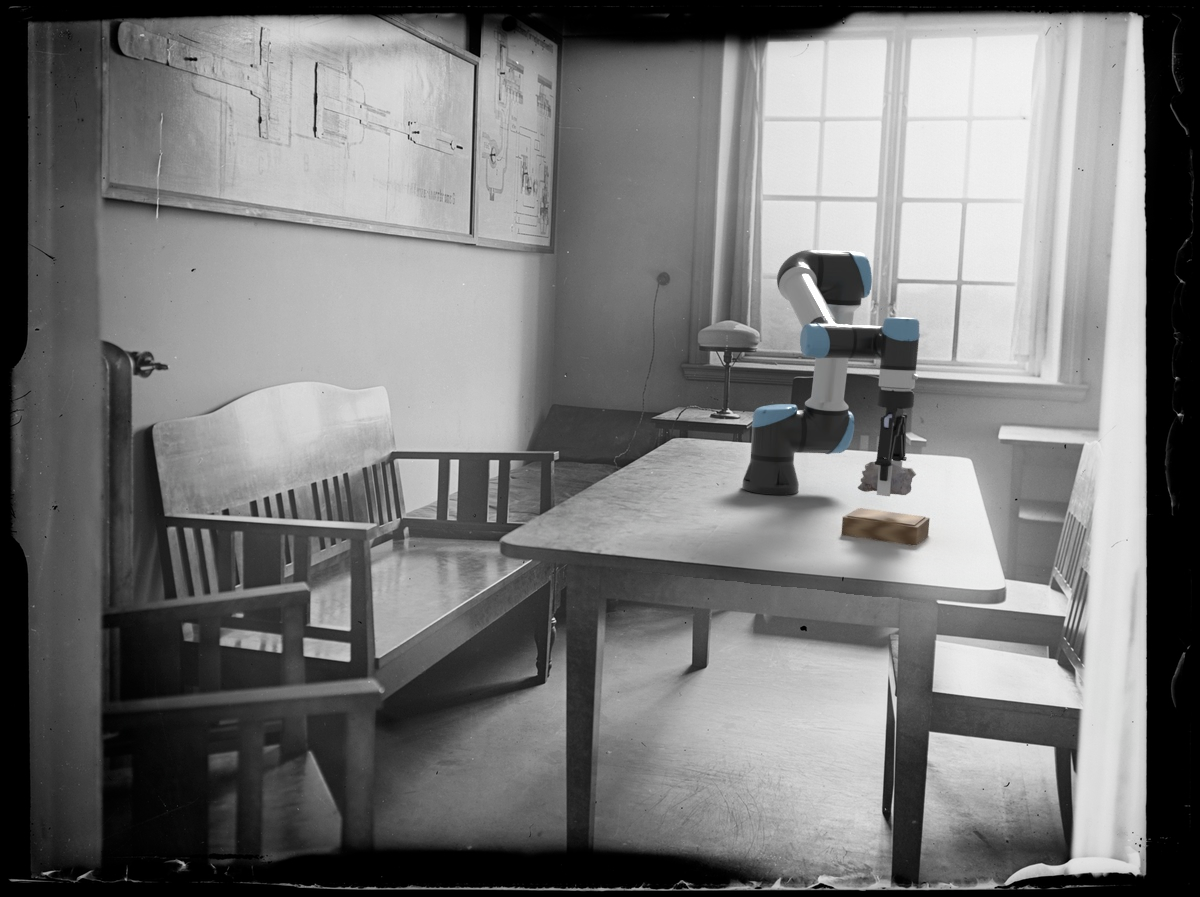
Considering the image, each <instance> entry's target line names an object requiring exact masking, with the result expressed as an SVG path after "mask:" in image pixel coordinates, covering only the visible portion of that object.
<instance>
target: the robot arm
mask: <svg viewBox="0 0 1200 897" xmlns="http://www.w3.org/2000/svg"><path fill="white" fill-rule="evenodd" d="M781 264H782V265H781V266H780V268H779V270H778V272H777V277H776V284H777V289H778V290H779V293H780V295H781V296H782V297H783V298H784V300H786V301H787V302H788V301H789V303H790V306H791V307H792V309H793V311H794V313H795V316H796V317H797V319H798V322H799V323H800V325H801V332H800V337H799V338H800V339H799V344H800V345H799V346H800V352H801V354H803V356H804V357H807V358H815V359H814V369H813V379H812V385H811V386H812V387H811V388H812V389H811V394H810V395H811V396H810V398H808V399H807V400H806V401H805V402H804V409H798V405H796V404H794V403H793V404H792V403H785V404H784V403H780V404H779V403H778V404H769V405H763V406H760V407H758V408H756V409H755V410H754V411H753V414H752V422H751V443H750V445H751V446H750V459H749V464H748V465H747V467H746V468H747V469H746V471H745V474H744V477H743V478H742V484H741V486H742V489H743V490H744V491H747V492H749V493H756V494H762V495H771V496H772V495H775V496H776V495H777V496H781V495H782V496H785V495H786V496H787V495H794V494H797V493H798V492H799V486H800V484H799V481H798V480H799V478H798V476H797V472H796V467H795V464H794V461H795V459H794V458H795V454H796V453H797V454H798V453H799V454H826V455H831V454H842V453H844V452H845V451H846V450H847V449H848V448H849V447H850V445H851V442H852V441H853V436H854V432H855V424H854V423H855V417H854V414H853V413H852V412H851V411H850V410H849V404H847V403H846V401H845V393H846V392H845V391H846V385H847V384H846V383H847V375H848V367H849V366H848V365H849V359H850V360H851V359H854V360H855V359H856V360H880V364H879V366H880V367H879V374H878V375H879V376H878V387H879V388H880V389H879V390H878V391H877V403H876V404H877V406H878V407H880V408H885V409H886V410H885V415H883V417H880V430H879V438H878V445H877V446H878V447H877V454H876V459H875V460H876V461H874V462H875V465H879V470H878V483H877V491H876V495H877V496H882V497H883V496H885V497H890V496H891V494H890V491H891V478H892V466H891V464H894V465H896V466H899V467H903V462H907V455H906V446H907V445H906V439H907V421H908V420H907V419H908V414H907V413H904V410H908V409H913V407H914V402H915V392H914V391H913V389H915V387H916V380H918V379H919V375H918V374H916V372H917V371H916V370H917V364H918V355H919V354H918V353H919V341H920V337H921V336H920V335H921V334H920V321H919V320H918V319H917V318H915V317H894V316H893V317H889V316H888V317H886V318H884V320H883V325H859V324H858V325H855V324H854V325H853V322H854V315H855V314H854V313H855V311H856V310H857V309H858V308H859V307H861V306H862V299H865V298H867V297H868V296H870V293H871V290H872V284H873V283H872V282H873V281H872V280H873V279H872V278H873V277H872V267H871V265H870V261H869V258H868V257H867V256H866V255H865V254H864V253H862V252H857V251H850V250H814V249H806V250H800V251H797V252H796V253H794V254H792V255H790V256H789V257H788V258H787V259H786V260H784V262H783V263H781Z"/></svg>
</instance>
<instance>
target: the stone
mask: <svg viewBox="0 0 1200 897" xmlns="http://www.w3.org/2000/svg"><path fill="white" fill-rule="evenodd" d="M891 466H892V478H891V491H890V495H899V496H907V495H908V494H910V493H911V491H912V482H913V478H914V477H915V476H916V475H917V473H916V472H915V471H914V469H913V468H912V467H911V468H909V467H903V466H902V467H899V466H896V465H894V464H891ZM878 470H879V465H875V461H870V462H868V463H866V464H864V470H862V471H861V472H862V473H861V474H862V476H863V477H861V478H860V482H861V483H860V484H859V485H858V486H857V489H858V490H860V491H861V492H865V493H869V492H877V483H878Z"/></svg>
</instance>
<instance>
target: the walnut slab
mask: <svg viewBox="0 0 1200 897" xmlns="http://www.w3.org/2000/svg"><path fill="white" fill-rule="evenodd" d="M930 520H931V518H930V517H926V516H923V515H922V516H921V515H914V514H909V513H907V514H906V513H901V512H892V511H887V510H886V511H884V510H878V509H869V508H864V507H863V508H862V507H860V508H856V509H854V510H852V511H851V512H848V513H847V514H845V515H843V516H842V524H841V535H842V536H847V537H852V538H853V537H854V538H859V539H860V538H861V539H868V540H872V541H873V540H874V541H881V542H888V543H893V544H901V545H906V546H907V545H908V546H915V547H917V545H918V544H920V543H921V542H922V541H924V540H925V539H927V537H928V536H929V529H930ZM918 546H919V545H918Z"/></svg>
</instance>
